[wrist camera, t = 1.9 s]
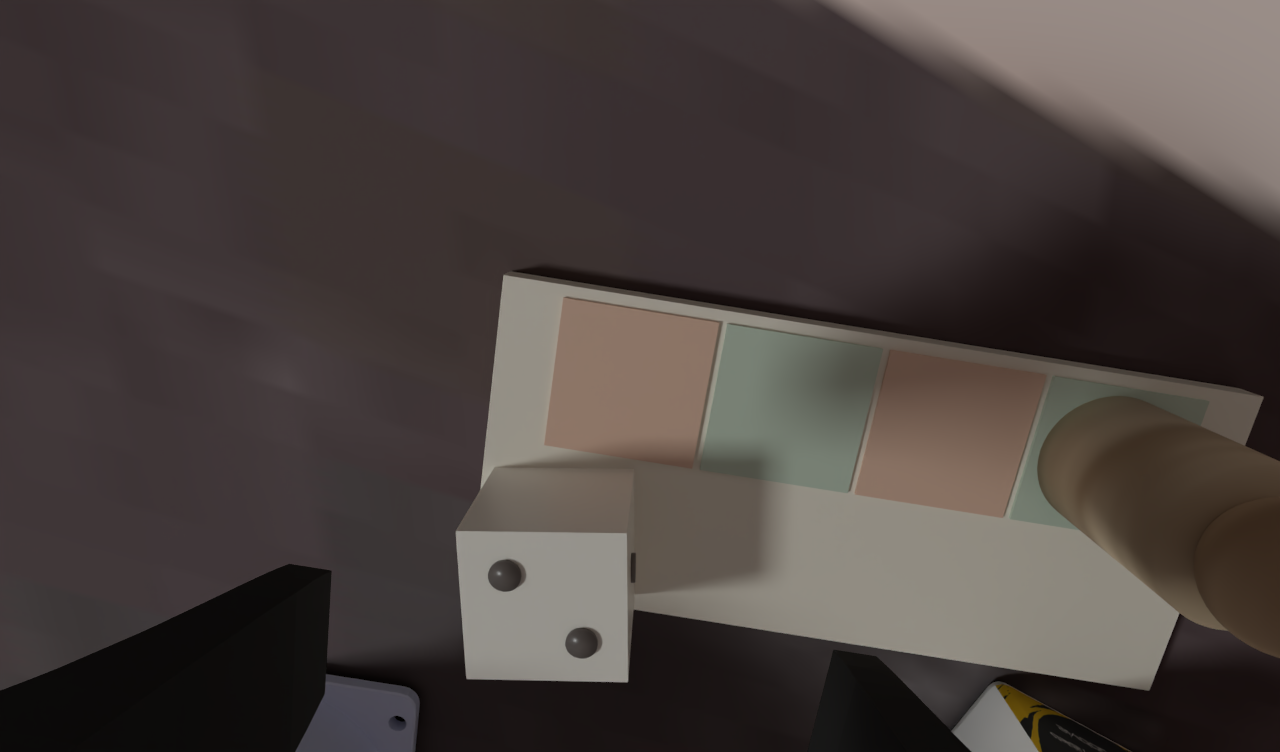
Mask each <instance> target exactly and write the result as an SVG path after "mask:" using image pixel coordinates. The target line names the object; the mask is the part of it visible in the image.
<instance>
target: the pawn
mask: <svg viewBox="0 0 1280 752" xmlns="http://www.w3.org/2000/svg"><path fill="white" fill-rule="evenodd" d="M1037 475H1038V481H1039V485H1040V488H1041V491H1042V493H1043V495H1044V497H1045V498H1046V500H1047V501H1048V502H1049V504H1050V505H1051V506H1052V507H1053V508H1054V509H1055V510H1056V511H1057V512H1058V513H1060V514H1061V515H1062V516H1063V517H1065V518H1066V519H1067V520H1068V521H1069V522H1071V523H1072V524H1073V525H1074V526H1075V527H1077V528H1078V529H1079V530H1080V531H1081V532H1083V533H1084V534H1085V535H1086V536H1087V537H1089V538H1090V539H1091V540H1092V541H1093V542H1095V543H1096V544H1097V545H1098V546H1099V547H1101V548H1102V549H1103V550H1104V551H1105V552H1107V553H1108V554H1109V555H1110V556H1111V557H1113V558H1114V559H1115V560H1116V561H1117V562H1119V563H1120V564H1121V565H1122V566H1124V567H1125V568H1126V569H1127V570H1128V571H1130V572H1131V573H1132V574H1133V575H1134V576H1136V577H1137V578H1138V579H1139V580H1140V581H1142V582H1143V583H1144V584H1145V585H1146V586H1148V587H1149V588H1150V589H1151V590H1152V591H1154V592H1155V593H1156V594H1157V595H1158V596H1160V597H1161V598H1162V599H1163V600H1164V601H1166V602H1167V603H1168V604H1169V605H1170V606H1172V607H1173V608H1174V609H1175V610H1176V611H1178V612H1179V613H1180V614H1182V615H1183V616H1184V617H1186V618H1187V619H1189V620H1191V621H1193V622H1195V623H1197V624H1200V625H1202V626H1205V627H1208V628H1213V629H1217V630H1226V631H1229V632H1230V633H1231V634H1233V635H1234V636H1236V637H1237V638H1238V639H1240V640H1241V641H1243V642H1244V643H1246V644H1248V645H1250V646H1251V647H1253V648H1255V649H1257V650H1259V651H1261V652H1263V653H1266V654H1269V655H1272V656H1275V657H1277V658H1280V461H1278V460H1275V459H1273V458H1271V457H1269V456H1267V455H1264V454H1262V453H1260V452H1258V451H1255V450H1253V449H1251V448H1249V447H1246V446H1244V445H1242V444H1240V443H1237V442H1235V441H1233V440H1231V439H1228V438H1226V437H1224V436H1222V435H1219V434H1217V433H1215V432H1213V431H1211V430H1208V429H1206V428H1204V427H1202V426H1199V425H1197V424H1195V423H1193V422H1190V421H1188V420H1186V419H1184V418H1181V417H1179V416H1177V415H1175V414H1172V413H1170V412H1168V411H1166V410H1163V409H1161V408H1159V407H1157V406H1155V405H1152V404H1150V403H1148V402H1145V401H1143V400H1140V399H1137V398H1132V397H1125V396H1110V397H1103V398H1099V399H1095V400H1092V401H1089V402H1087V403H1084V404H1082V405H1080V406H1078V407H1076V408H1075V409H1073V410H1072V411H1070V412H1069V413H1067V414H1066V415H1065V416H1064V417H1063V418H1061V419H1060V420H1059V421H1058V422H1057V423H1056V425H1055V426H1054V427H1053V428H1052V429H1051V431H1050V432H1049V434H1048V435H1047V437H1046V439H1045V440H1044V442H1043V445H1042V447H1041V450H1040V453H1039V457H1038V465H1037Z"/></svg>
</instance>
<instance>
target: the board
mask: <svg viewBox="0 0 1280 752" xmlns="http://www.w3.org/2000/svg"><path fill="white" fill-rule="evenodd" d="M1110 396H1125V397H1132V398H1137V399H1140V400H1143V401H1145V402H1148V403H1150V404H1152V405H1155V406H1157V407H1159V408H1161V409H1163V410H1166V411H1168V412H1170V413H1172V414H1175V415H1177V416H1179V417H1181V418H1184V419H1186V420H1188V421H1190V422H1193V423H1195V424H1197V425H1199V426H1202V427H1204V428H1206V429H1208V430H1211V431H1213V432H1215V433H1217V434H1219V435H1222V436H1224V437H1226V438H1228V439H1231V440H1233V441H1235V442H1237V443H1240V444H1242V445H1244V446H1245V444H1246V442H1247V439H1248V437H1249V434H1250V431H1251V429H1252V426H1253V424H1254V421H1255V419H1256V416H1257V413H1258V411H1259V408H1260V406H1261V403H1262V401H1263V398H1264V397H1263V396H1260V395H1257V394H1254V393H1251V392H1248V391H1246V390H1243V389H1240V388H1235V387H1229V386H1222V385H1216V384H1210V383H1204V382H1198V381H1191V380H1185V379H1179V378H1173V377H1166V376H1160V375H1154V374H1148V373H1141V372H1135V371H1129V370H1123V369H1117V368H1110V367H1104V366H1098V365H1092V364H1085V363H1079V362H1073V361H1067V360H1060V359H1054V358H1048V357H1042V356H1036V355H1029V354H1023V353H1017V352H1011V351H1004V350H998V349H992V348H986V347H979V346H973V345H967V344H961V343H954V342H948V341H942V340H936V339H930V338H923V337H917V336H911V335H905V334H898V333H892V332H886V331H880V330H873V329H867V328H861V327H855V326H849V325H842V324H836V323H830V322H824V321H817V320H811V319H805V318H799V317H792V316H786V315H780V314H774V313H768V312H761V311H755V310H749V309H743V308H736V307H730V306H724V305H718V304H711V303H705V302H699V301H693V300H687V299H680V298H674V297H668V296H662V295H655V294H649V293H643V292H637V291H630V290H624V289H618V288H612V287H606V286H599V285H593V284H587V283H581V282H574V281H568V280H562V279H556V278H549V277H543V276H537V275H531V274H525V273H518V272H512V271H510V272H508V273H506V274H505V275H504V277H503V286H502V295H501V304H500V314H499V323H498V332H497V341H496V351H495V360H494V369H493V378H492V388H491V397H490V406H489V415H488V425H487V434H486V443H485V452H484V462H483V471H482V480H481V488H482V487H483V485H484V484H485V482H486V480H487V479H488V477H489V475H490V474H491V472H492V470H493V469H494V467H516V468H616V469H634V549H635V553H636V581H635V597H634V610H640V611H646V612H653V613H659V614H665V615H672V616H678V617H684V618H691V619H697V620H703V621H710V622H716V623H722V624H729V625H735V626H741V627H748V628H754V629H761V630H767V631H773V632H780V633H786V634H792V635H799V636H805V637H811V638H818V639H824V640H830V641H837V642H843V643H849V644H856V645H862V646H868V647H875V648H881V649H887V650H894V651H900V652H906V653H913V654H919V655H925V656H932V657H938V658H944V659H951V660H957V661H963V662H970V663H976V664H982V665H989V666H995V667H1001V668H1008V669H1014V670H1021V671H1027V672H1033V673H1040V674H1046V675H1052V676H1059V677H1065V678H1071V679H1078V680H1084V681H1090V682H1097V683H1103V684H1109V685H1116V686H1122V687H1128V688H1135V689H1141V690H1147V691H1149V690H1150V687H1151V685H1152V682H1153V680H1154V677H1155V675H1156V672H1157V670H1158V667H1159V664H1160V662H1161V659H1162V657H1163V654H1164V652H1165V649H1166V647H1167V644H1168V641H1169V639H1170V636H1171V634H1172V631H1173V629H1174V626H1175V623H1176V621H1177V618H1178V616H1179V612H1178V611H1176V610H1175V609H1174V608H1173V607H1172V606H1170V605H1169V604H1168V603H1167V602H1166V601H1164V600H1163V599H1162V598H1161V597H1160V596H1158V595H1157V594H1156V593H1155V592H1154V591H1152V590H1151V589H1150V588H1149V587H1148V586H1146V585H1145V584H1144V583H1143V582H1142V581H1140V580H1139V579H1138V578H1137V577H1136V576H1134V575H1133V574H1132V573H1131V572H1130V571H1128V570H1127V569H1126V568H1125V567H1124V566H1122V565H1121V564H1120V563H1119V562H1117V561H1116V560H1115V559H1114V558H1113V557H1111V556H1110V555H1109V554H1108V553H1107V552H1105V551H1104V550H1103V549H1102V548H1101V547H1099V546H1098V545H1097V544H1096V543H1095V542H1093V541H1092V540H1091V539H1090V538H1089V537H1087V536H1086V535H1085V534H1084V533H1083V532H1081V531H1080V530H1079V529H1078V528H1077V527H1075V526H1074V525H1073V524H1072V523H1071V522H1069V521H1068V520H1067V519H1066V518H1065V517H1063V516H1062V515H1061V514H1060V513H1058V512H1057V511H1056V510H1055V509H1054V508H1053V507H1052V506H1051V505H1050V504H1049V502H1048V501H1047V500H1046V498H1045V497H1044V495H1043V493H1042V491H1041V488H1040V485H1039V481H1038V475H1037V465H1038V457H1039V453H1040V450H1041V447H1042V445H1043V442H1044V440H1045V439H1046V437H1047V435H1048V434H1049V432H1050V431H1051V429H1052V428H1053V427H1054V426H1055V425H1056V423H1057V422H1058V421H1059V420H1060V419H1061V418H1063V417H1064V416H1065V415H1066V414H1067V413H1069V412H1070V411H1072V410H1073V409H1075V408H1076V407H1078V406H1080V405H1082V404H1084V403H1087V402H1089V401H1092V400H1095V399H1099V398H1103V397H1110ZM480 490H481V489H480Z"/></svg>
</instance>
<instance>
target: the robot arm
mask: <svg viewBox="0 0 1280 752" xmlns="http://www.w3.org/2000/svg"><path fill="white" fill-rule="evenodd" d="M330 589H331V571H330V570H324V569H318V568H311V567H305V566H299V565H292V564H288V565H285V566H283V567H280V568H278V569H275V570H273V571H271V572H268V573H266V574H264V575H262V576H259V577H257V578H255V579H253V580H251V581H249V582H247V583H245V584H242V585H240V586H238V587H236V588H234V589H232V590H230V591H228V592H226V593H224V594H222V595H220V596H217V597H215V598H213V599H211V600H209V601H207V602H205V603H203V604H201V605H199V606H197V607H194V608H192V609H190V610H188V611H186V612H184V613H182V614H180V615H177V616H175V617H173V618H171V619H169V620H167V621H165V622H163V623H161V624H158V625H156V626H154V627H152V628H150V629H148V630H146V631H143V632H141V633H139V634H136V635H134V636H132V637H129V638H127V639H125V640H123V641H120V642H118V643H116V644H113V645H111V646H109V647H106V648H104V649H102V650H99V651H97V652H95V653H92V654H90V655H88V656H86V657H83V658H81V659H79V660H76V661H74V662H72V663H69V664H67V665H65V666H62V667H60V668H58V669H55V670H53V671H50V672H48V673H45V674H43V675H40V676H38V677H35V678H32V679H30V680H27V681H25V682H22V683H19V684H17V685H14V686H12V687H9V688H6V689H4V690H1V691H0V752H415V750H416V739H417V728H418V718H419V707H420V701H419V697H418V695H417V694H416V692H414V691H413V690H412V689H411V688H408V687H405V686H399V685H392V684H386V683H380V682H373V681H367V680H361V679H354V678H348V677H341V676H335V675H329V674H326V664H327V645H328V627H329V608H330ZM394 716H400V717H402V718H403V719H404V720H405V721H404V722H401V721H399V720H397V719H396V718H395V717H394ZM808 752H971V751H970V750H969V749H968V748H967V747H966V746H965V745H964V744H963V743H962V742H961V741H960V740H959V739H958V738H957V737H956V736H955V735H954V734H953V733H952V732H951V731H950V730H949V729H948V728H947V727H946V726H945V725H944V724H943V723H942V722H941V720H940V719H939V718H938V717H937V716H936V715H935V714H934V713H933V712H932V711H931V710H930V709H929V708H928V707H927V706H926V705H925V704H924V703H923V702H922V701H921V700H920V699H919V698H918V697H917V696H916V695H915V694H914V693H913V692H912V691H911V690H910V689H909V688H908V687H907V686H906V685H905V684H904V683H903V682H902V681H901V680H900V679H899V678H898V677H897V676H896V675H895V674H894V673H893V672H892V671H891V670H890V669H889V668H888V667H887V666H886V665H885V664H884V663H883V662H882V661H881V660H880V659H878V658H877V657H876V656H870V655H864V654H857V653H851V652H845V651H838V650H833V654H832V658H831V662H830V666H829V670H828V674H827V678H826V682H825V685H824V689H823V693H822V697H821V701H820V705H819V709H818V713H817V717H816V720H815V724H814V728H813V732H812V736H811V740H810V744H809V748H808Z"/></svg>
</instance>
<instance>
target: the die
mask: <svg viewBox="0 0 1280 752" xmlns="http://www.w3.org/2000/svg"><path fill="white" fill-rule="evenodd" d="M456 543H457V557H458V571H459V585H460V598H461V612H462V626H463V640H464V654H465V668H466V679H485V680H535V681H586V682H628V677H629V663H630V650H631V637H632V624H633V611H634V597H635V581H636V553H635V549H634V469H616V468H516V467H494V469H493V470H492V472H491V474H490V475H489V477H488V479H487V480H486V482H485V484H484V485H483V487H482V488H481V490H480V492H479V493H478V495H477V497H476V498H475V500H474V502H473V503H472V505H471V507H470V508H469V510H468V512H467V513H466V515H465V516H464V518H463V520H462V521H461V523H460V525H459V526H458V528H457V530H456Z"/></svg>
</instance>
